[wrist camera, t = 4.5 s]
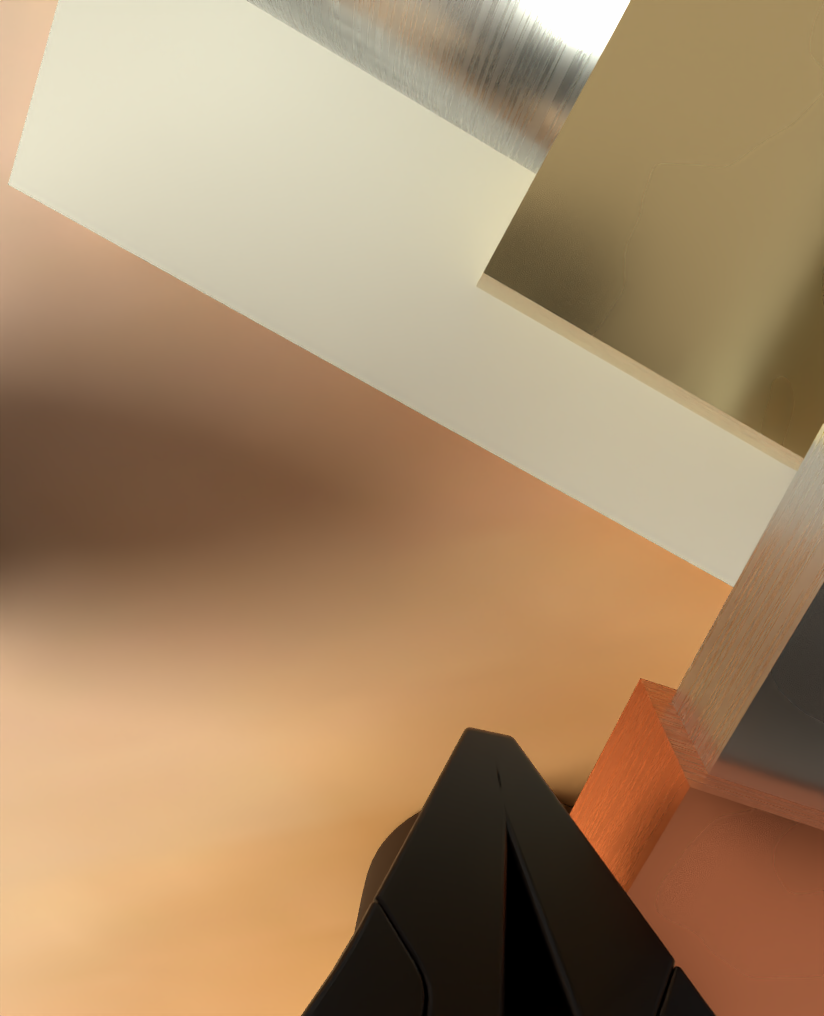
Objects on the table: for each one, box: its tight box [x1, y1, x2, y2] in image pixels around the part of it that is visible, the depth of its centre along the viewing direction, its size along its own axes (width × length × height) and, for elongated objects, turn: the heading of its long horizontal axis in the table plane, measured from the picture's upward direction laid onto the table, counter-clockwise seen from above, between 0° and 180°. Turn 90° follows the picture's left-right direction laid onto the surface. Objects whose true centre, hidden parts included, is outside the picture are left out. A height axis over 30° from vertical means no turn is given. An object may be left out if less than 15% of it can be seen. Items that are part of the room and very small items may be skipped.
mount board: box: [8, 0, 797, 587], centre depth 13 cm, size 14×28×2 cm, turn 62°
